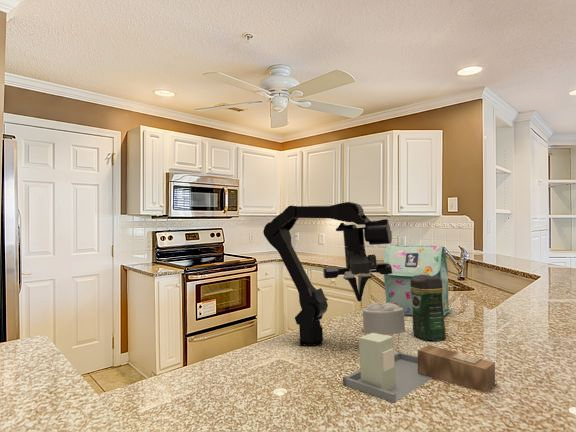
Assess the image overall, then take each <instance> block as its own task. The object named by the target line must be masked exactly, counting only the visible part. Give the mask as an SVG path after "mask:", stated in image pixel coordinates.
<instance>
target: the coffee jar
mask: <svg viewBox="0 0 576 432" xmlns="http://www.w3.org/2000/svg"><path fill="white" fill-rule="evenodd" d="M410 286H411V287H410V288H411V293H412V307H413V315H412V332H413V335H414V336H415V337H418V338H419V339H422V340H425V341H429V340H430V341H433V342H434V341H435V342H436V341H441V340H444V339H446V336H447V335H446V332H447V331H446V322H445V318H444V317H445V316H444V314H443V303H442V292H443V287H442V281H441V279H439V278H438V277H433V276H428V275H415V276H413V277H412V278H411V282H410Z"/></svg>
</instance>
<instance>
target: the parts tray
mask: <svg viewBox="0 0 576 432" xmlns="http://www.w3.org/2000/svg"><path fill="white" fill-rule="evenodd" d="M394 359H395V376H396V387H394V388H393V389H391V390H389V391H387V390H384V389H381V388H378V387H375V386H372V385H369V384H366V383H363V382H361V372H360V369H359V370H356V371H355V372H352V373H350V374H348V375H346V376H344V377H342V385H343V386H345V387H347V388H351V389H353V390H355V391H356V390H357V391H359V392H362V393H365V394H369V395H371V396H373V397H376V398H379V399H382V400H385V401H388V402H390V403H393V404H394V403H396V402H398V401H399V400H401V399H403V398H404V397H406V396H407V395H409V394H410V393H412V392H413V391H414V390H415V391H416V389H418V388H419V387H421V386H423V385H425V384H426V383H427V382H429V381H431V380H433V378H432V377H429V376H426V375H423V374H420V373H418V355H413V354H409V353H405V352H400V351H398V352H394Z"/></svg>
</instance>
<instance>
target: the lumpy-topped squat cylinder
mask: <svg viewBox="0 0 576 432" xmlns="http://www.w3.org/2000/svg"><path fill="white" fill-rule="evenodd" d="M362 321H363V322H362V323H363V333H364V334H365V335H368V334H370V333H377V334H382V335H387V336H392V335H397V334H402V333H405V332H406V323H405V315H404V309H403V308H401V307H399V306H398V305H396V304H391V303H386V302H384V303H382V304H381V302H378V301H375V302H372V303H370V304H369V305H367V307H365V308H363V309H362Z"/></svg>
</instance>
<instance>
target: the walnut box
mask: <svg viewBox="0 0 576 432" xmlns="http://www.w3.org/2000/svg"><path fill="white" fill-rule="evenodd" d="M417 356H418V373H420V374H423V375H426V376H429V377H432V379H435V380H438V381H441V382H447V383H450V384H454V385H457V386H461V387H464V388H469V389H472V390H476V391H479V392H482V393H487V392H488V391H490V390H491V389H492V388H493V387H494V386H496V362H494V361H492V360H488V359H483V358H480V357H477V356H473V355H469V354H465V353H462V352H458V351H455V350H449V349H446V348H441V347H440V346H439V347H438V346H434V345H431V344H427V345H425V346H423V347H421V348H419V349H417Z"/></svg>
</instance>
